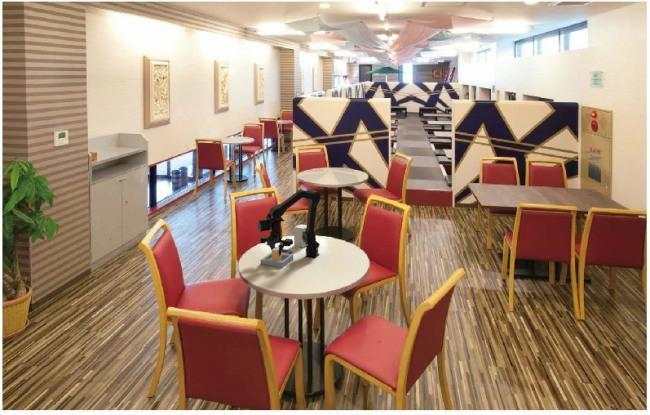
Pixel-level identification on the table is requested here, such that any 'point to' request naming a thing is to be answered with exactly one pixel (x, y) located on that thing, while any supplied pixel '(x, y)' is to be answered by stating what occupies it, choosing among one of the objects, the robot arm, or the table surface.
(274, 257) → the white and orange block
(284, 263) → the tray
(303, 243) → the supplement box
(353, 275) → the table surface
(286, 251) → the holder
